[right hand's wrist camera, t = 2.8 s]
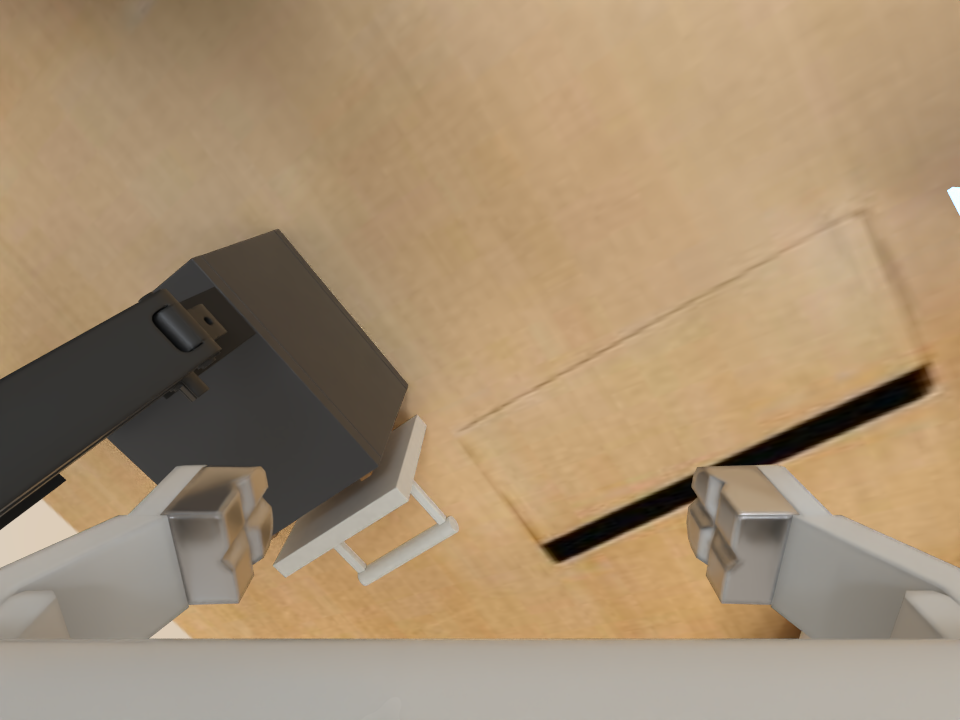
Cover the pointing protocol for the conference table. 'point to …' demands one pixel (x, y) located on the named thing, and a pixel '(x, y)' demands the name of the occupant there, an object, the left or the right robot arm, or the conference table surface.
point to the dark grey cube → (275, 385)
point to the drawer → (369, 512)
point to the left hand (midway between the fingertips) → (130, 393)
